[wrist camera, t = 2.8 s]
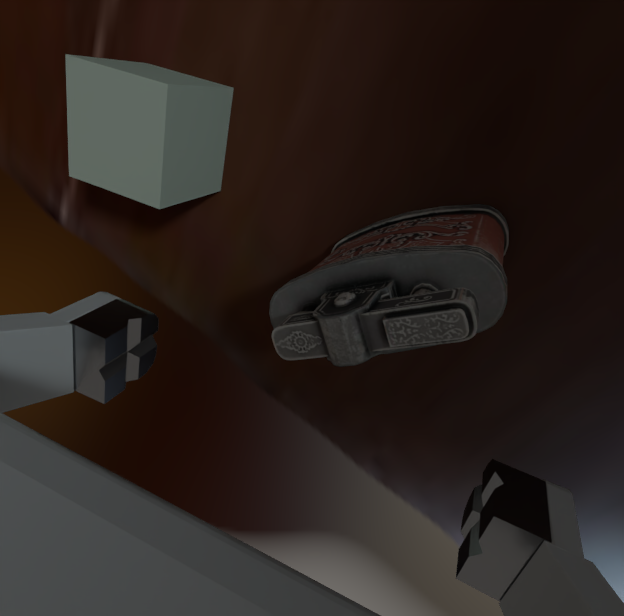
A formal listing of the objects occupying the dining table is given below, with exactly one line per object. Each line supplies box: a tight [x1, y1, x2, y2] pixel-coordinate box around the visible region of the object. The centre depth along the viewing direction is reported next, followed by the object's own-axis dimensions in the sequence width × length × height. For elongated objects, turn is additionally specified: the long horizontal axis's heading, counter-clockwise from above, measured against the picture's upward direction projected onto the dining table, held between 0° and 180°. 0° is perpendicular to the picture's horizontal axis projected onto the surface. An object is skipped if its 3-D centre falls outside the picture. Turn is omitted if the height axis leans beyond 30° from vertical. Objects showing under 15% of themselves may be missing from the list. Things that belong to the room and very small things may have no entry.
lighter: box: [269, 204, 509, 367], centre depth 17 cm, size 8×3×10 cm, turn 109°
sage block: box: [66, 54, 233, 209], centre depth 22 cm, size 5×5×5 cm
